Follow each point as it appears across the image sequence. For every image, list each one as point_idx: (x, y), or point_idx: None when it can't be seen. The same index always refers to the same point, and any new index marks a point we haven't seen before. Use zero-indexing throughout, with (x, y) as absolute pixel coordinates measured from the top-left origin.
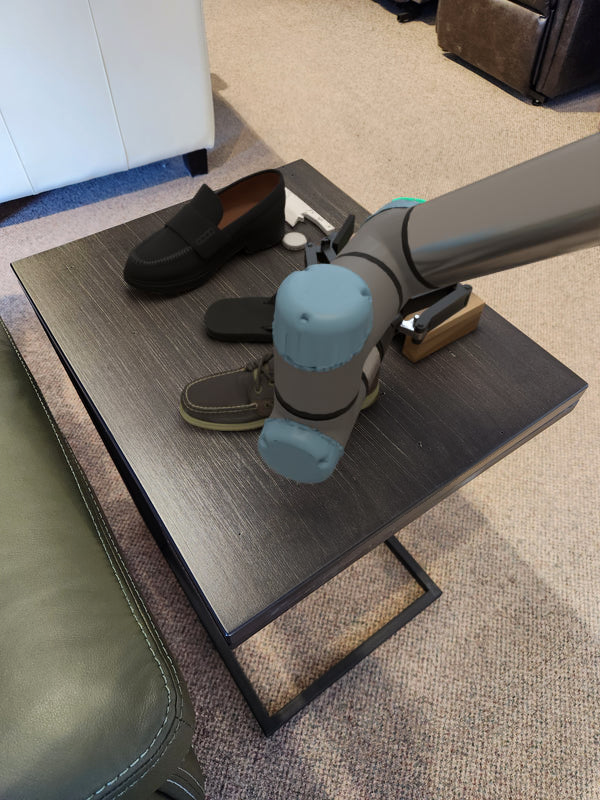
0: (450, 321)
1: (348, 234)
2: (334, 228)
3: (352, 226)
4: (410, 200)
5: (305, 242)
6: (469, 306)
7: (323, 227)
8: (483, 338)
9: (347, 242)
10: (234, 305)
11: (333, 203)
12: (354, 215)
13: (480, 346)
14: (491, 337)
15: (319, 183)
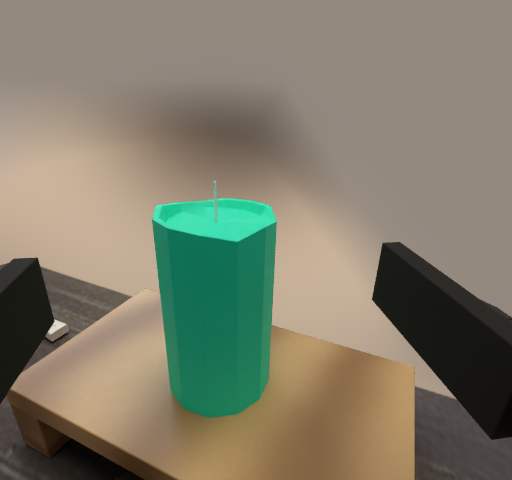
0: (414, 462)
1: (14, 332)
2: (65, 325)
3: (35, 298)
4: (198, 205)
5: None
6: (403, 392)
7: None
8: (430, 439)
9: (22, 364)
10: None
11: (65, 290)
12: (33, 259)
13: (447, 466)
14: (438, 428)
15: (42, 272)
